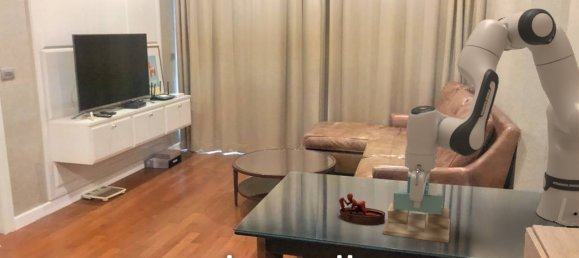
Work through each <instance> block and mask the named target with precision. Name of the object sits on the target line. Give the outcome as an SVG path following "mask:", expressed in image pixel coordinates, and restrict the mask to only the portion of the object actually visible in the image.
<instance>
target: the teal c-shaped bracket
mask: <svg viewBox="0 0 579 258" xmlns="http://www.w3.org/2000/svg"><path fill="white" fill-rule="evenodd" d="M409 195H410V193H407V191H405V189H399V188H398V189H397V191H396V190H394V191H393V200H392V202H393V209H400V210H408V211H410V212H415V213H416V212H417V213H423V214H424V213H426V214H429V213H432V214H441V209H442V208H443V200H444V199H443V198H444V197H443V195H444V194H443V193H436V195H434V194H433V195H432V194H428V195H426V194H424V195H423V199H422V201H421V204H420V208H415V207H414V200H410V197H409Z"/></svg>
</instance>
